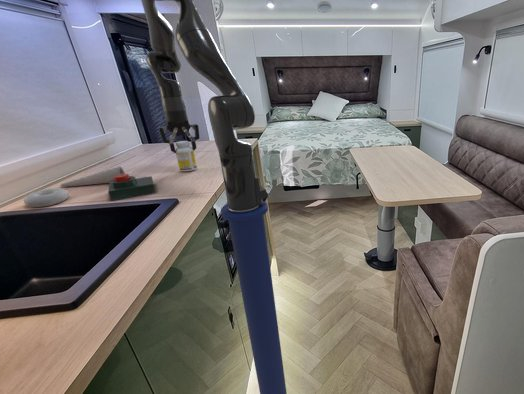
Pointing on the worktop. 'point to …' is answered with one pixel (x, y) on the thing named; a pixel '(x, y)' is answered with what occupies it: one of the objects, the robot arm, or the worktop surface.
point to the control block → (131, 188)
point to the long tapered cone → (95, 178)
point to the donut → (46, 197)
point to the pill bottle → (185, 156)
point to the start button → (121, 177)
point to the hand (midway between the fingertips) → (184, 151)
